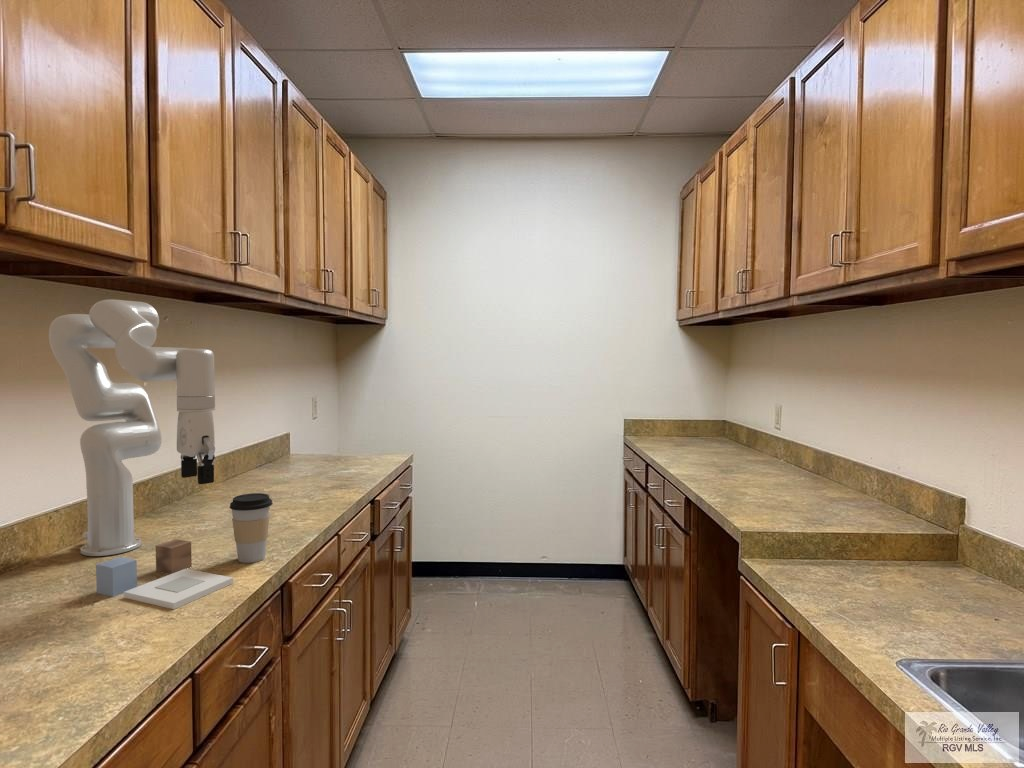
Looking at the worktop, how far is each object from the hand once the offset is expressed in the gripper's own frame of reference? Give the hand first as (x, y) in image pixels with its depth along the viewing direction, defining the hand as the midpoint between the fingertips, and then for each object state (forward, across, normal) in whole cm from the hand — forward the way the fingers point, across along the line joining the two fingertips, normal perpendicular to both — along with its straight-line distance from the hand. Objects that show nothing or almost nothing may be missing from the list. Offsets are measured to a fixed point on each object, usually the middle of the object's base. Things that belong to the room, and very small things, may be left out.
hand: (197, 479), depth 131 cm
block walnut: (+21, -5, -3) cm, 22 cm away
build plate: (+21, +9, -7) cm, 24 cm away
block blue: (+21, -1, -16) cm, 26 cm away
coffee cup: (+21, +1, +12) cm, 24 cm away
